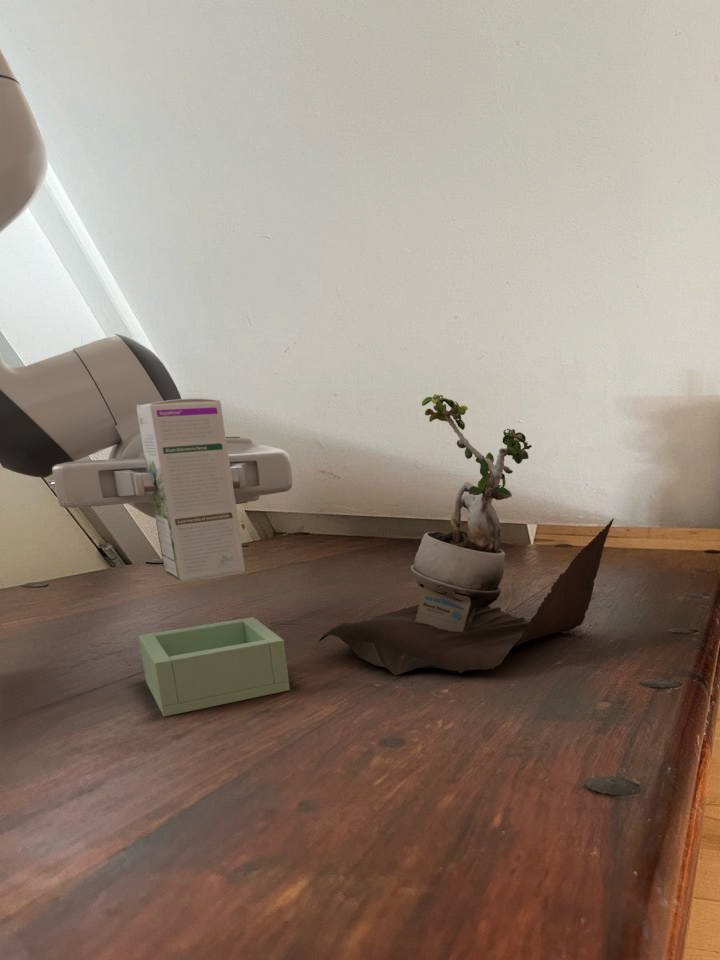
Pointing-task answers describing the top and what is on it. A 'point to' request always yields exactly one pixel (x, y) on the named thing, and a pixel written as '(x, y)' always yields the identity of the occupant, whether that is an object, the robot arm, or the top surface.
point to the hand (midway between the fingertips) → (193, 481)
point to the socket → (213, 664)
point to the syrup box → (192, 488)
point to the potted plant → (470, 582)
